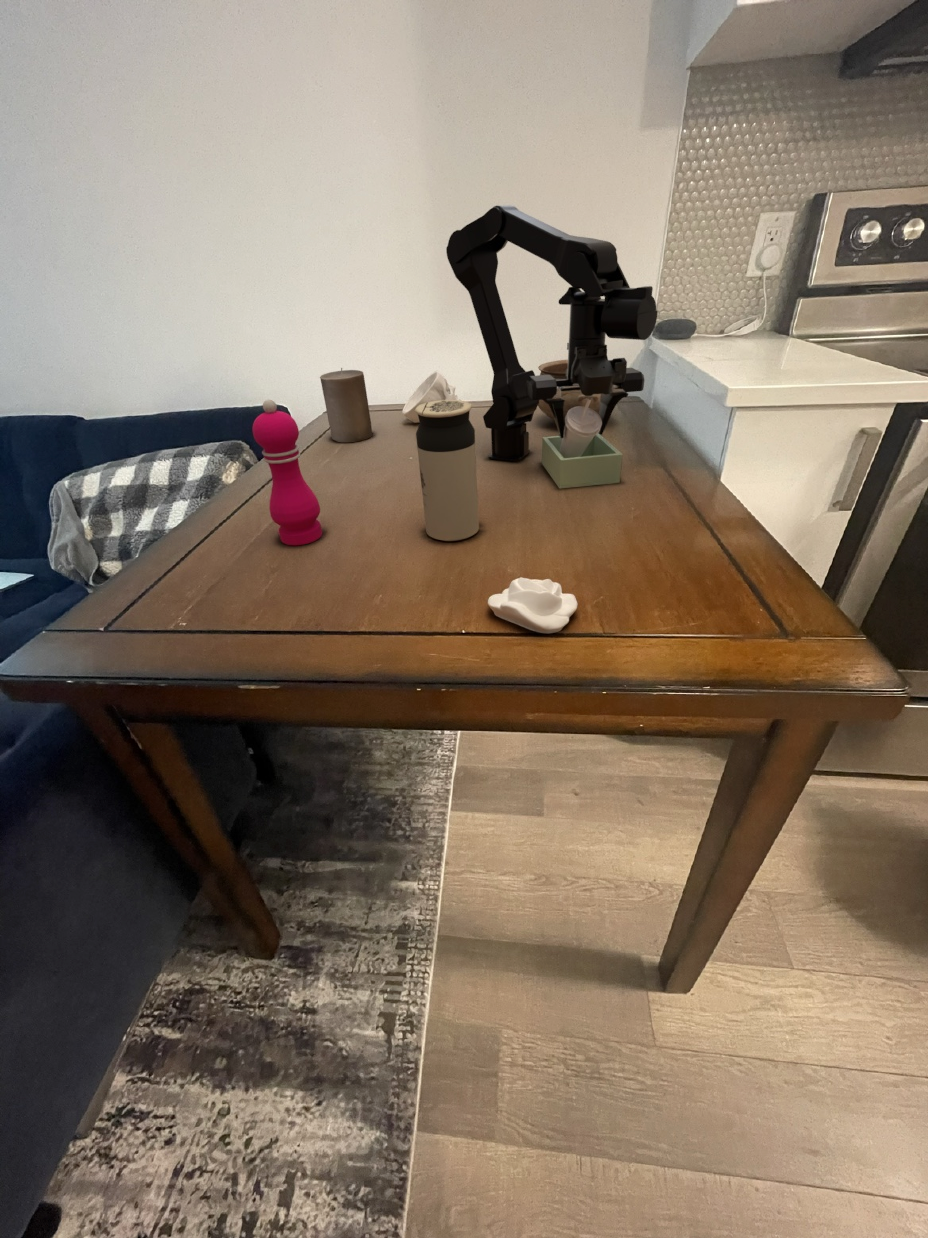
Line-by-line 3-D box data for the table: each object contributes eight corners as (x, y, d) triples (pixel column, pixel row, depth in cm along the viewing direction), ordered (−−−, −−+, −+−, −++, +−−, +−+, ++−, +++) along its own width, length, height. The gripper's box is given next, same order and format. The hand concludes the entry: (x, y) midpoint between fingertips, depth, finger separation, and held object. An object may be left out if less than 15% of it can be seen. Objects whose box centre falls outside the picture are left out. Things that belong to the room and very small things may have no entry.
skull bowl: (475, 415, 132) (445, 371, 125) (430, 451, 135) (398, 410, 128) (467, 405, 140) (439, 363, 133) (425, 439, 143) (395, 400, 137)
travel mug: (483, 520, 84) (478, 398, 74) (473, 543, 78) (466, 413, 68) (433, 519, 86) (422, 399, 76) (420, 541, 79) (405, 414, 69)
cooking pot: (526, 412, 137) (527, 359, 130) (601, 406, 137) (605, 353, 130) (543, 440, 116) (545, 379, 109) (631, 434, 116) (638, 372, 110)
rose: (490, 605, 56) (484, 561, 64) (491, 640, 59) (485, 592, 67) (586, 599, 56) (568, 555, 64) (583, 633, 58) (566, 587, 67)
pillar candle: (378, 430, 131) (368, 362, 122) (365, 442, 123) (353, 371, 114) (340, 431, 132) (328, 364, 124) (324, 443, 125) (310, 372, 116)
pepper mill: (283, 551, 79) (244, 409, 68) (273, 533, 85) (235, 399, 73) (331, 539, 82) (301, 400, 71) (318, 522, 87) (289, 390, 76)
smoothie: (548, 445, 102) (570, 384, 90) (580, 445, 103) (606, 385, 91) (554, 472, 100) (578, 413, 87) (587, 471, 101) (615, 413, 88)
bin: (541, 463, 105) (542, 437, 102) (595, 458, 105) (597, 432, 102) (559, 488, 93) (560, 459, 91) (619, 482, 94) (622, 454, 91)
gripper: (541, 348, 80) (539, 454, 88) (664, 338, 81) (650, 444, 89) (525, 338, 89) (525, 435, 97) (636, 330, 90) (626, 426, 99)
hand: (580, 435), depth 95 cm, fingers open, 7 cm apart
